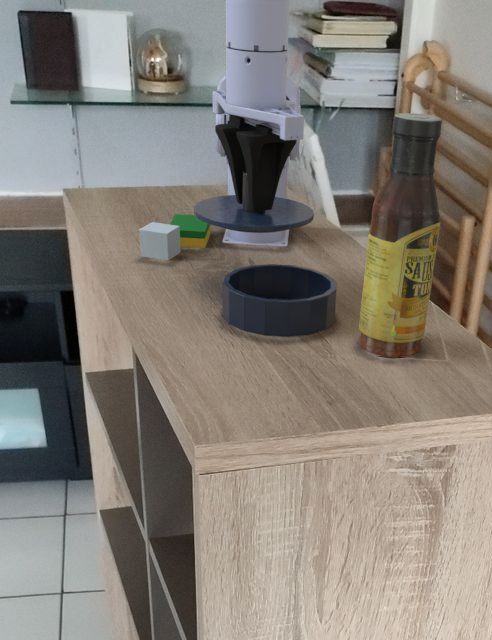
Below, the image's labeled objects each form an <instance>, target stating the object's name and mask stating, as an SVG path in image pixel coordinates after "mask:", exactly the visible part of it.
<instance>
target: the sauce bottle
mask: <svg viewBox="0 0 492 640" xmlns="http://www.w3.org/2000/svg"><path fill="white" fill-rule="evenodd" d="M442 123H443V120H442V118H441V117H439V116H437V115H433V114H427V113H426V114H425V113H416V112H415V113H414V112H413V113H412V112H403V113H401V112H399V113H395V114H394V116H393V123H392V135H393V141H392V142H393V143H392V151H391V158H390V159H391V161H390V163H389V172H390V173H389V175H388V176H387V178H386V180H385V181H384V182H383V184H382V185H381V186H380V188H379V189H378V191H377V193H376V195H375V197H374V199H373V204H372V211H371V219H370V229H369V230H368V235H367V236H368V237H367V245H366V256H365V264H364V275H363V285H362V294H361V303H360V313H359V324H358V331H360V332H359V338H358V339H359V340H358V341H359V342H358V343H359V346H360V347H361V349H362V350H365V351H367V352H369V353H371V354H374V355H376V356H377V357H378V358H383V359H406V357H407V356H410V355H414V354H416V353H418V352H419V351H420V348H421V346H422V345H421V344H422V339H423V338H424V336H425V332H426V325H427V318H428V312H429V304H430V298H431V290H432V285H433V277H434V271H435V265H436V264H435V262H436V255H437V249H438V243H439V236H440V229H441V222H442V221H441V216H440V208H439V203H438V196H437V191H436V184H435V178H434V174H435V160H436V153H437V145H438V140H439V139H440V138H441V135H442Z"/></svg>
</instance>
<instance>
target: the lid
mask: <svg viewBox="0 0 492 640" xmlns="http://www.w3.org/2000/svg"><path fill="white" fill-rule="evenodd" d="M193 215H195V216H196V217H197V218H198V219H199V220H201V221H203V222H205V223H208V224H211V226H215V227H218V228H222V229H225V230H226V229H229V230H233V231H240V232H250V233H270V232H279V231H284V230H289V231H290V230H295V229H298V228H302V227H305V226H307V225H309V224H311V223H312V222H313V221H314V218H315V212H314V210H313V208H311V207H310V206H309V205H307V204H305V203H303V202H299V201H297V200H293V199H289V198H286V199H285V198H279V197H275V199H274V203H273V206H272V210H265V211H253V210H251V207H250V202H249V193H248V179H247V171H246V170H244V171H243V187H242V204H239V203H237V199H236V195H228V194H227V195H220V196H213V197H209V198H204V199H202V200H200V201H199V202H197V203H195V204H194V206H193Z"/></svg>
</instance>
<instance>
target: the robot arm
mask: <svg viewBox="0 0 492 640" xmlns="http://www.w3.org/2000/svg"><path fill="white" fill-rule="evenodd" d="M289 20H290V0H225V75H224V76H223V77H222V78H221V79H220V80H219V84H218V85H217V87H216V88H217V89H216V90H213V91H212V113H213V114H215V126H214V129H215V130H214V131H215V147H216V152H217V153H218V154H219V156H220V157H221V158H225V163H226V165H227V196H228V195H236V199H237V203H239V204H242V187H243V171H244V170H246V171H247V179H248V193H249V202H250V207H251V210H253V211H265V210H272V206H273V203H274V199H275V197H279V198H285V199H288V198H287V197H288V195H287V194H288V168H289V165H290V161H295V160H296V158H297V157H298V156H299V154H300V146H301V145H300V143H301V142H300V141H302V140H304V132H305V131H304V129H305V128H304V127H305V115H302V114H301V113H302V112H301V111H302V110H301V109H302V108H301V106H302V105H301V90H300V89H299V84H298V83H297V82H296V80H294V78H292V76H290V75H289V74H288V56H289V55H288V53H289V52H288V51H289V50H288V48H289V23H290V21H289ZM289 237H290V229H289V230H284V231H279V232H270V233H250V232H240V231H233V230H229V229H225V231H224V234H223V238H222V241H221V242H222V243H223V244H236V245H252V246H253V245H255V246H269V247H270V246H271V247H272V246H273V247H287V246H288V243H289V242H288V241H289Z"/></svg>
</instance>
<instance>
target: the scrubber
mask: <svg viewBox="0 0 492 640" xmlns="http://www.w3.org/2000/svg"><path fill="white" fill-rule="evenodd" d="M169 225H176V226H180V248H184V247H185V248H199V249H206V247H207V245H208V242H209V239H210V236H211V235H212V225H211V224H208V223H205V222H203V221H201V220H199V219H198V218H197V217H196V216H195V215H194V214H182V213H181V214H179V213H175V214H174V215H173V217H172V219H171V221H170V223H169Z"/></svg>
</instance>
